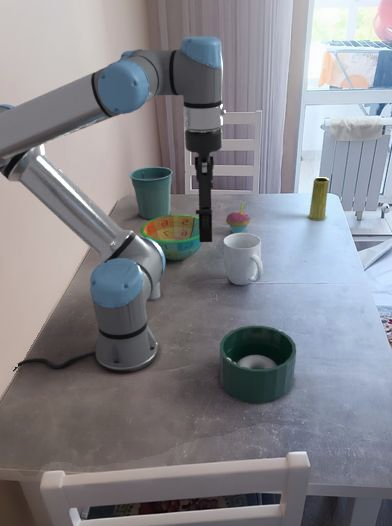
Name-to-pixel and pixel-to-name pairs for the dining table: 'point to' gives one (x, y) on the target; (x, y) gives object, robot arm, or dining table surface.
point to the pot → (257, 380)
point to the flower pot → (152, 191)
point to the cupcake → (238, 221)
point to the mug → (242, 258)
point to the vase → (319, 199)
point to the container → (155, 293)
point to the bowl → (174, 235)
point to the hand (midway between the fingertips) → (205, 228)
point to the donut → (257, 362)
